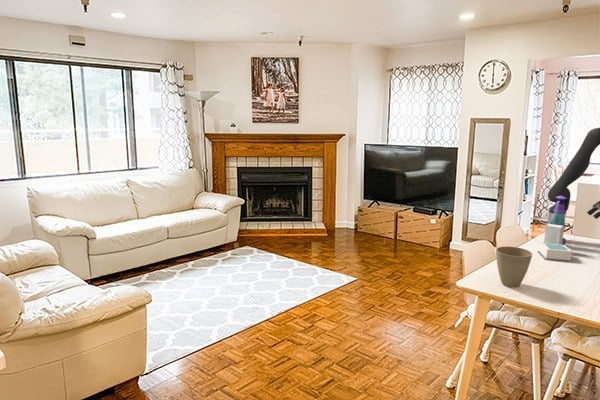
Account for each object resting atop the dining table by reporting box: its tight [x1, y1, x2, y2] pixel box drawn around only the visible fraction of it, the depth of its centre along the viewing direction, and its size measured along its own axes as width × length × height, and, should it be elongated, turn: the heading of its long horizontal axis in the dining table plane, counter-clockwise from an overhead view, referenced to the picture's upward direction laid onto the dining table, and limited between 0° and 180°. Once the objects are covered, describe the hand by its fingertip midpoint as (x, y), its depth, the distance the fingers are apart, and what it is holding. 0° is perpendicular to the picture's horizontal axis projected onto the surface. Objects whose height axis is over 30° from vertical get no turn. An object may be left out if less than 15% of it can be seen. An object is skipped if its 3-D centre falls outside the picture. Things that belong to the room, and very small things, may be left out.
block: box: [539, 242, 573, 261], centre depth 245 cm, size 12×5×12 cm
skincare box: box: [543, 223, 565, 245], centre depth 256 cm, size 8×6×15 cm
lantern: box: [550, 196, 567, 246], centre depth 265 cm, size 13×12×30 cm
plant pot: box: [495, 245, 533, 288], centre depth 203 cm, size 15×15×16 cm
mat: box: [537, 250, 570, 263], centre depth 245 cm, size 14×11×1 cm
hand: (591, 215), depth 237 cm, fingers open, 8 cm apart
